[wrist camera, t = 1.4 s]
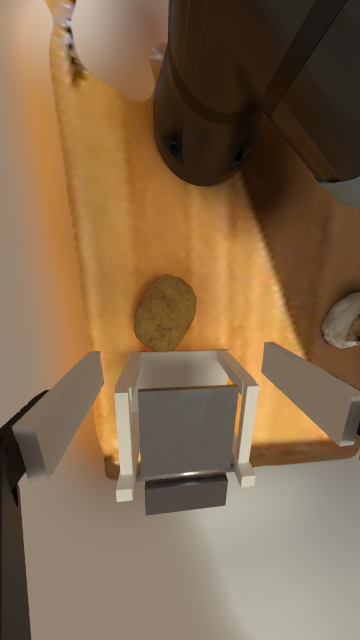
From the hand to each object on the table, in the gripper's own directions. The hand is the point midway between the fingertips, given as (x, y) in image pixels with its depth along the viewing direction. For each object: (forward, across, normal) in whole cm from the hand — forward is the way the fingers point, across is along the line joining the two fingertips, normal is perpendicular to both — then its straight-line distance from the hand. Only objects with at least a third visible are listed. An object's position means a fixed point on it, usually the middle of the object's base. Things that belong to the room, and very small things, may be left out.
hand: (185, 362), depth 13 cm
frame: (+18, +1, -16) cm, 25 cm away
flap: (+10, +1, -17) cm, 20 cm away
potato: (+19, -2, +1) cm, 19 cm away
